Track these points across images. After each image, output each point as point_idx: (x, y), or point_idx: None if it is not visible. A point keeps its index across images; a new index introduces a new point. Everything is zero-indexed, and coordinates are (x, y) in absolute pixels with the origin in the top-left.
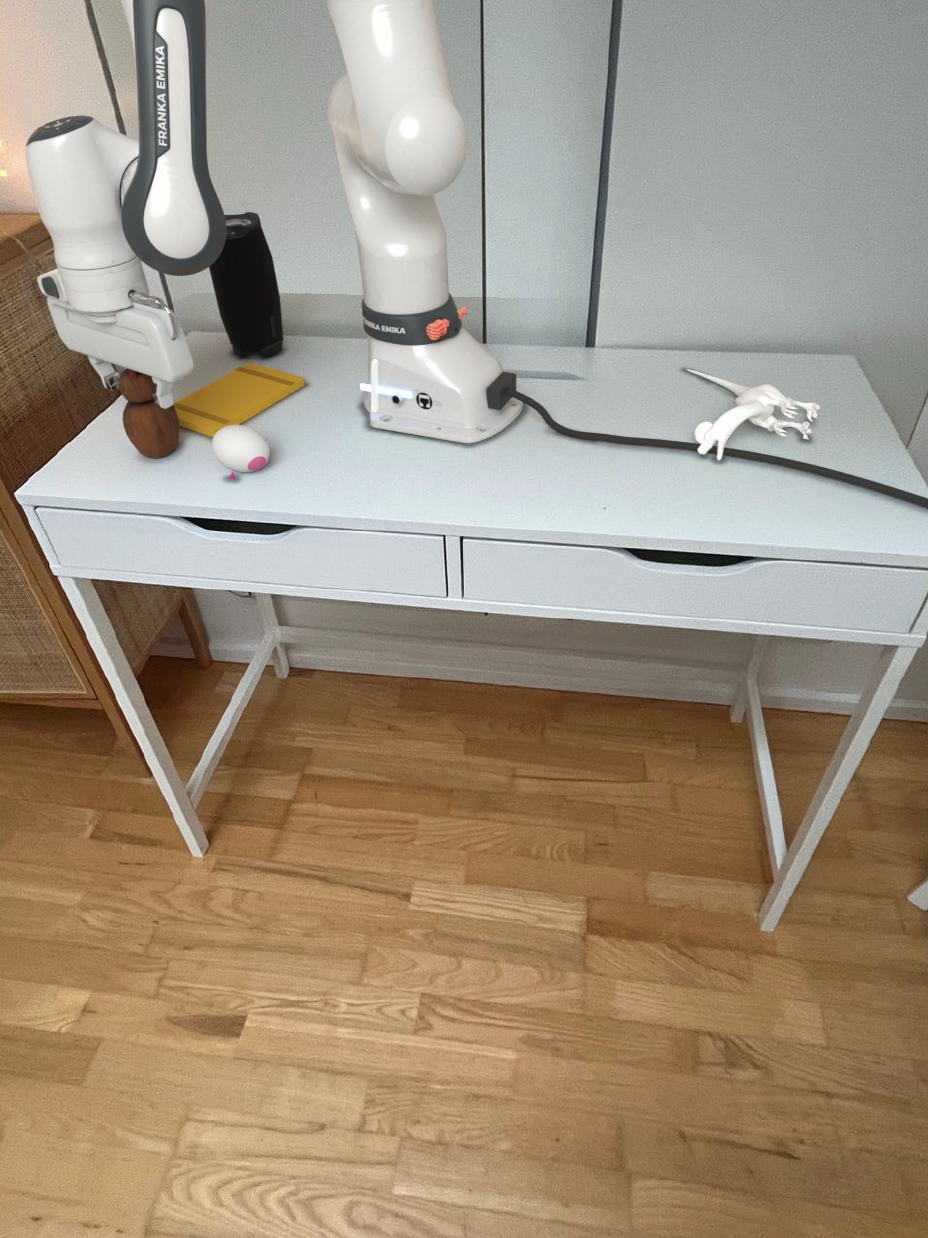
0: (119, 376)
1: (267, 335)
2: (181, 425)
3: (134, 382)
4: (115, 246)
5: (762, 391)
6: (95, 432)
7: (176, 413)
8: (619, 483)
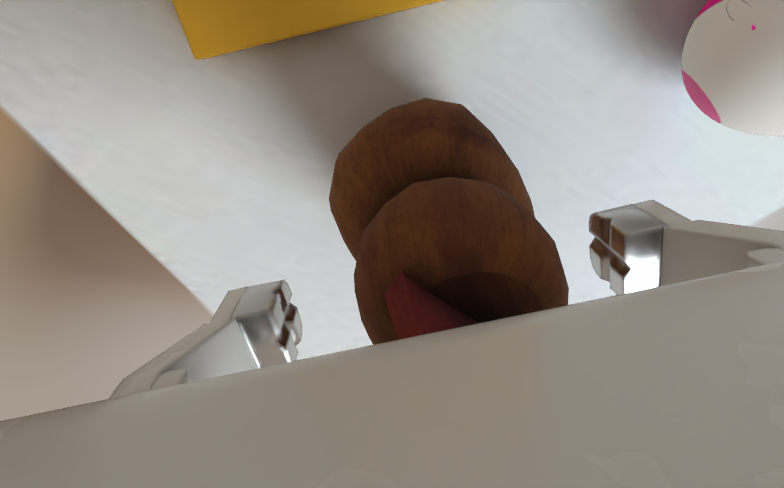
0: (274, 306)
1: None
2: (320, 30)
3: None
4: None
5: None
6: (161, 248)
7: (469, 111)
8: None
